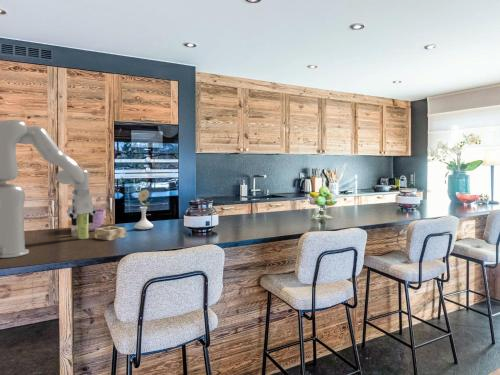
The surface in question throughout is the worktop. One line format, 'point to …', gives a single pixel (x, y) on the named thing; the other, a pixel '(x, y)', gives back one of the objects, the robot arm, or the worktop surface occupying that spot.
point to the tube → (82, 225)
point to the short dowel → (74, 230)
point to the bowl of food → (96, 219)
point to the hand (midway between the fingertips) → (82, 224)
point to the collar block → (110, 233)
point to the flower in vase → (143, 212)
